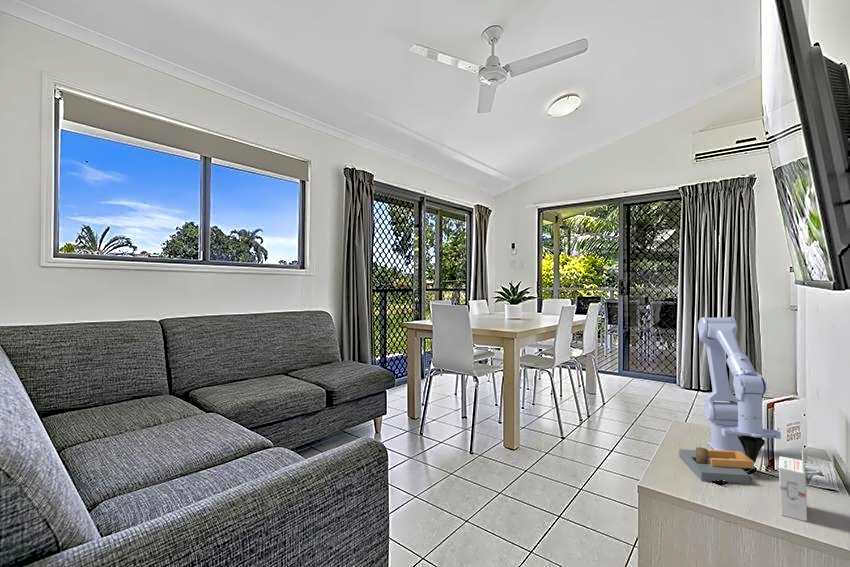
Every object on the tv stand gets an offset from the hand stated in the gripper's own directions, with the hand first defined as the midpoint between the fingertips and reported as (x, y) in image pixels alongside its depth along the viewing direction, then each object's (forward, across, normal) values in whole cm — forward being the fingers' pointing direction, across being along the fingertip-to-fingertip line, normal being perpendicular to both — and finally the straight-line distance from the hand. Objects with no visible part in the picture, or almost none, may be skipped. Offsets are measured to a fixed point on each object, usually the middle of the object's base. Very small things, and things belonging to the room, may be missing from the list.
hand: (751, 461), depth 122 cm
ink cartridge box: (+3, -2, -21) cm, 21 cm away
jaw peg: (+3, -13, 0) cm, 13 cm away
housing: (+3, -10, 0) cm, 11 cm away
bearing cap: (+1, -6, 0) cm, 6 cm away
